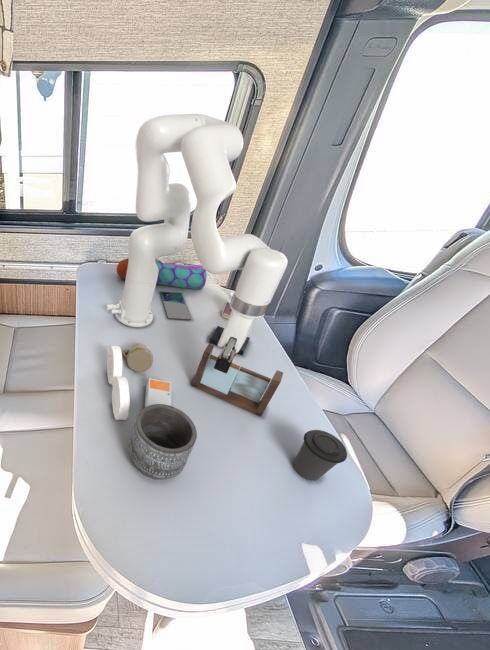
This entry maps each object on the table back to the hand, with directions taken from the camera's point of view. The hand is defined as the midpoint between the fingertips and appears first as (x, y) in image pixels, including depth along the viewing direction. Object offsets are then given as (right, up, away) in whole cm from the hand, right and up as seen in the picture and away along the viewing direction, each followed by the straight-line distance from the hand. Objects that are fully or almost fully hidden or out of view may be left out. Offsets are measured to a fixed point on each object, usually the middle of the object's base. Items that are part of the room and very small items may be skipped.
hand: (224, 361), depth 98 cm
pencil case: (+3, +25, +50) cm, 56 cm away
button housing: (+12, +4, +24) cm, 27 cm away
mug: (-19, -2, +16) cm, 24 cm away
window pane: (0, -8, +6) cm, 10 cm away
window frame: (+3, -10, +6) cm, 12 cm away
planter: (-21, -22, -10) cm, 32 cm away
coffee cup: (+13, -23, -11) cm, 29 cm away
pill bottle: (+17, +12, +35) cm, 41 cm away
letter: (-27, -9, +5) cm, 29 cm away
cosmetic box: (-15, -7, +6) cm, 17 cm away
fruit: (-14, +27, +53) cm, 62 cm away
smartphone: (0, +16, +39) cm, 42 cm away
